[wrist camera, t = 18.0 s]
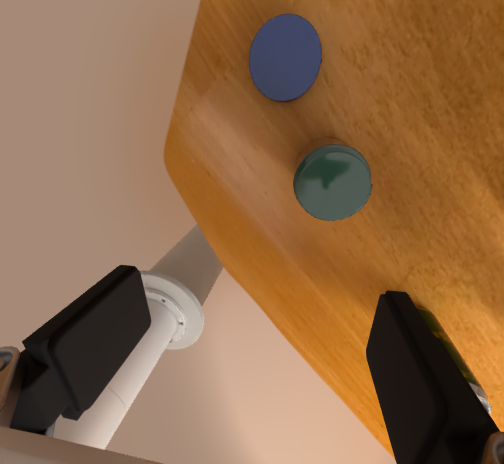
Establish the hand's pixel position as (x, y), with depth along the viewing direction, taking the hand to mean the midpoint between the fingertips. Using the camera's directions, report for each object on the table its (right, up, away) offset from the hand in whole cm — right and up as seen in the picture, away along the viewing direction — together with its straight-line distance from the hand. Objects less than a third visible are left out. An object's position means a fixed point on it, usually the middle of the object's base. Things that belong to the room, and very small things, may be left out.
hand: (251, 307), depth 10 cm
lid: (+3, +20, +14) cm, 24 cm away
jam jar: (+8, +11, +19) cm, 23 cm away
